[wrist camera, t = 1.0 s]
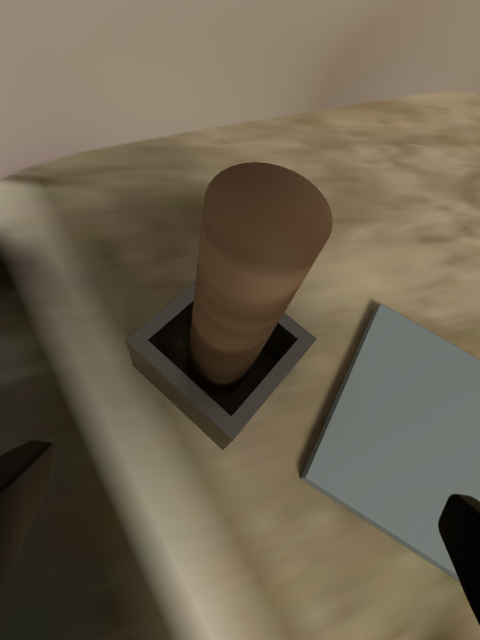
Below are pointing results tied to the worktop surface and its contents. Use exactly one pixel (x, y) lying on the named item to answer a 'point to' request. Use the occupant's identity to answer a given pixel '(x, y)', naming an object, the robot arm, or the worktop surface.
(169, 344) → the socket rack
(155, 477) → the worktop surface
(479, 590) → the robot arm
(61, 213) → the worktop surface
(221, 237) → the dowel
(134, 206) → the worktop surface
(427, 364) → the board
